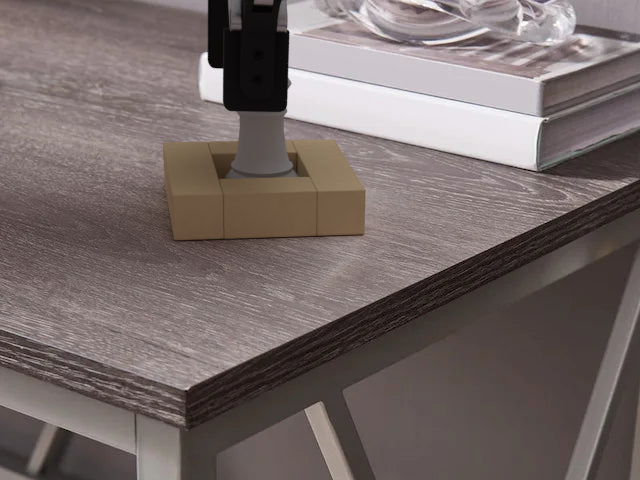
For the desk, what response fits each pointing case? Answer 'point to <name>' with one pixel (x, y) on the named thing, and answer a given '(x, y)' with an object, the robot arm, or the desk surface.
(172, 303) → the desk surface
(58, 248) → the desk surface
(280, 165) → the rook chess piece
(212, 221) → the socket pad
